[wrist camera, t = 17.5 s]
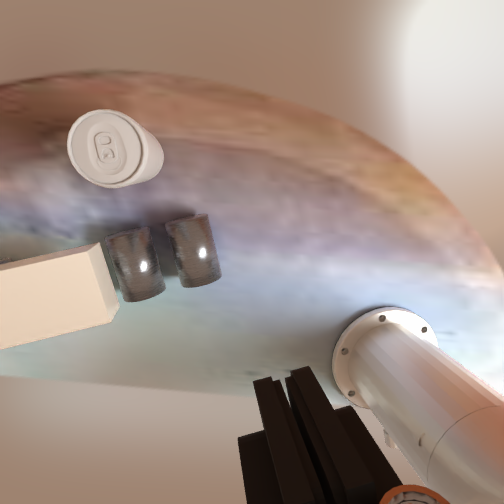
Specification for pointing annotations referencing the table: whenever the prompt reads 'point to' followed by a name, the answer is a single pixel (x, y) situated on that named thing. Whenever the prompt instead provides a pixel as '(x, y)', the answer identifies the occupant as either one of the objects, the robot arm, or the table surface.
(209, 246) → the cylinder
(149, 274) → the cylinder
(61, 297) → the slab
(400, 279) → the table surface
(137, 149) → the beverage can
